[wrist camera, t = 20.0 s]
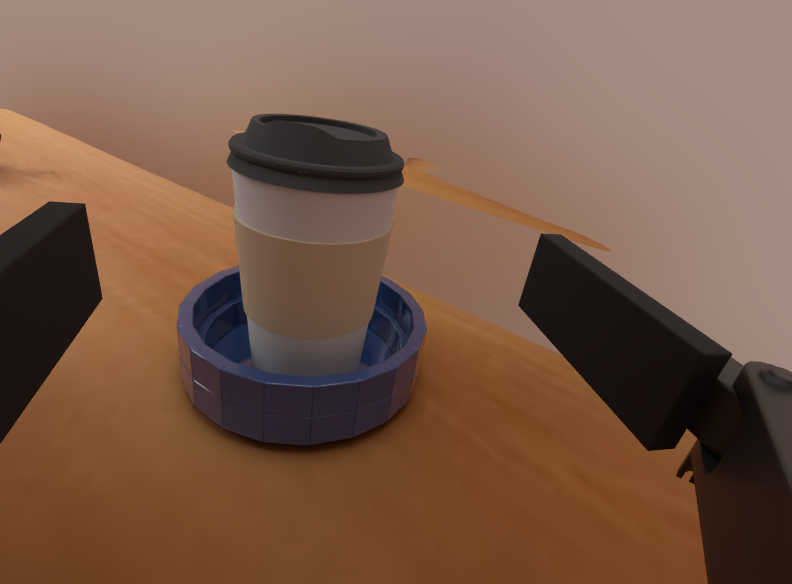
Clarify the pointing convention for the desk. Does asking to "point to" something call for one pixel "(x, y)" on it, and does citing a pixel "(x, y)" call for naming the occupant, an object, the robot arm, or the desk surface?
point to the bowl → (290, 394)
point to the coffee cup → (311, 237)
